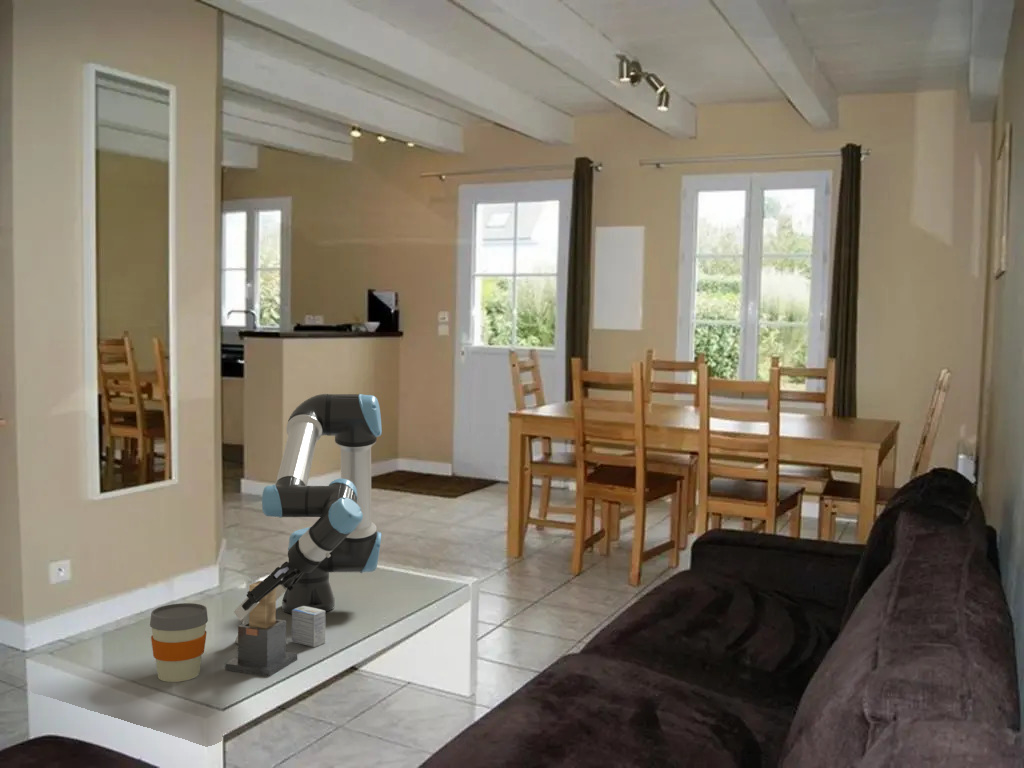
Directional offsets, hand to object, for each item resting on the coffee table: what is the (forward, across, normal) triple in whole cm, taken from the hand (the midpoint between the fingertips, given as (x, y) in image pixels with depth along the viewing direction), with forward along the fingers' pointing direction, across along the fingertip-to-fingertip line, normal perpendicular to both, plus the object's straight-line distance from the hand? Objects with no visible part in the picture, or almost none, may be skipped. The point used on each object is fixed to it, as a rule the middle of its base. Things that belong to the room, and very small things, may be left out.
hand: (252, 609), depth 213 cm
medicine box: (+6, +18, -13) cm, 23 cm away
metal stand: (+7, 0, -11) cm, 13 cm away
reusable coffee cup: (+17, -12, -2) cm, 21 cm away
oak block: (+6, 0, -10) cm, 12 cm away
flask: (+16, +13, -3) cm, 21 cm away
